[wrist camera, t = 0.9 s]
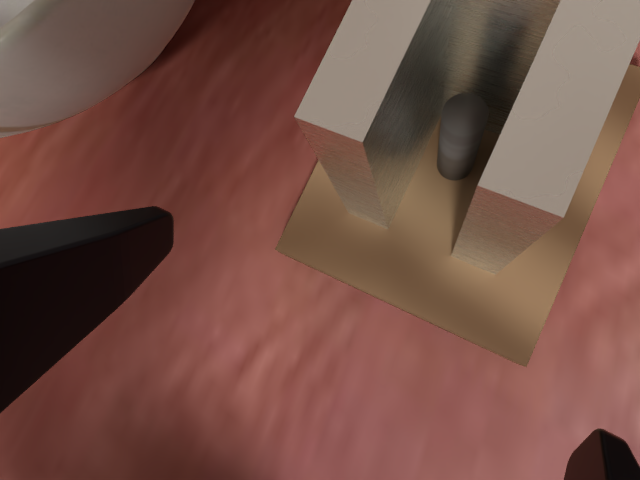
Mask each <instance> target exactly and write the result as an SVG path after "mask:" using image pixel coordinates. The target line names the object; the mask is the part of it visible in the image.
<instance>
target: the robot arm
mask: <svg viewBox="0 0 640 480" xmlns="http://www.w3.org/2000/svg"><path fill="white" fill-rule="evenodd" d="M173 242H174V220H173V216H172V214H171V213H170V212H168V211H166V210H164V209H162V208H160V207H157V206H152V207H145V208H139V209H132V210H125V211H119V212H112V213H105V214H98V215H92V216H85V217H78V218H72V219H65V220H58V221H51V222H45V223H38V224H31V225H25V226H18V227H11V228H4V229H0V413H1V412H2V411H3V410H4V409H5V408H7V407H8V406H9V405H10V404H11V403H12V402H13V401H14V400H16V399H17V398H18V397H19V396H20V395H21V394H22V393H23V392H24V391H26V390H27V389H28V388H29V387H30V386H31V385H32V384H33V383H35V382H36V381H37V380H38V379H39V378H40V377H41V376H42V375H43V374H45V373H46V372H47V371H48V370H49V369H50V368H51V367H52V366H54V365H55V364H56V363H57V362H58V361H59V360H60V359H61V358H62V357H64V356H65V355H66V354H67V353H68V352H69V351H70V350H71V349H72V348H74V347H75V346H76V345H77V344H78V343H79V342H80V341H81V340H83V339H84V338H85V337H86V336H87V335H88V334H89V333H90V332H91V331H93V330H94V329H95V328H96V327H97V326H98V325H99V324H100V323H102V322H103V321H104V320H105V319H106V318H107V317H108V316H109V315H110V314H112V313H113V312H114V311H115V310H116V309H117V308H118V307H119V306H120V305H121V304H122V303H124V302H125V301H126V300H127V299H128V298H129V296H130V295H131V294H132V293H133V292H134V291H135V290H136V289H137V288H138V287H139V286H140V285H141V284H142V282H143V281H144V280H145V279H146V278H147V277H148V276H149V275H150V274H151V273H152V271H153V270H154V269H155V268H156V267H157V266H158V265H159V264H160V263H161V261H162V260H163V259H164V258H165V257H166V256H167V255H168V254H169V252H170V251H171V249H172V247H173ZM564 480H640V466H639V464H638V463H637V461H636V459H635V457H634V455H633V453H632V451H631V450H630V448H629V446H628V444H627V443H626V442H625V441H624V440H623V439H622V438H620V437H618V436H616V435H614V434H612V433H610V432H608V431H606V430H604V429H596V430H594V431H593V432H592V433H591V434H590V435H589V436H588V437H587V438H586V439H585V440H584V441H583V442H582V443H581V444H580V446H579V447H578V448H577V449H576V450H575V451H574V452H573V453H572V455H571V456H570V458H569V461H568V464H567V468H566V472H565V477H564Z"/></svg>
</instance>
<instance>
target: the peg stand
mask: <svg viewBox="0 0 640 480" xmlns="http://www.w3.org/2000/svg"><path fill="white" fill-rule="evenodd" d="M639 98H640V67H638V66H634V65H631V64H629V66H628V68H627V71H626V73H625V75H624V78H623V80H622V82H621V85H620V87H619V89H618V92H617V94H616V96H615V99H614V101H613V103H612V106H611V108H610V111H609V113H608V115H607V118H606V120H605V122H604V125H603V127H602V129H601V132H600V134H599V136H598V139H597V141H596V143H595V146H594V148H593V150H592V153H591V155H590V157H589V160H588V162H587V164H586V167H585V169H584V171H583V174H582V176H581V178H580V181H579V183H578V185H577V188H576V190H575V193H574V195H573V197H572V200H571V202H570V204H569V207H568V209H567V211H566V214H565V216H564V218H563V219H562V220H560V221H559V222H558V223H557V224H556V225H554V226H553V227H552V228H551V229H550V230H548V231H547V232H546V233H545V234H544V235H542V236H541V237H540V238H539V239H538V240H536V241H535V242H534V243H533V244H532V245H531V246H529V247H528V248H527V249H526V250H525V251H523V252H522V253H521V254H520V255H519V256H517V257H516V258H515V259H514V260H513V261H511V262H510V263H509V264H508V265H507V266H505V267H504V268H503V269H502V270H501V271H499V272H498V273H497V274H496V275H495V274H492V273H490V272H487V271H485V270H483V269H480V268H478V267H476V266H473V265H471V264H469V263H466V262H464V261H461V260H459V259H457V258H454V257H452V256H451V254H452V252H453V249H454V246H455V244H456V241H457V238H458V236H459V233H460V230H461V228H462V225H463V222H464V220H465V217H466V214H467V212H468V209H469V206H470V204H471V201H472V198H473V196H474V193H475V190H476V188H477V185H478V183H479V181H480V178H481V176H482V174H483V172H484V170H485V167H486V165H487V163H488V161H489V158H490V156H491V154H492V152H493V150H494V147H495V145H496V143H497V141H498V138H499V136H500V135H499V134H496V133H493V132H491V131H488V130H485V126H486V123H487V120H488V116H489V111H488V107H487V104H486V103H485V101H484V100H483V99H482V98H481V97H479V96H477V95H475V94H472V93H461V94H457V95H455V96H453V97H451V98H450V99H449V100H448V101H447V102H446V103H445V105H444V106H443V109H442V115H441V117H440V119H439V121H438V123H437V126H436V128H435V130H434V132H433V134H432V136H431V138H430V141H429V143H428V145H427V147H426V149H425V151H424V154H423V156H422V158H421V160H420V162H419V164H418V166H417V169H416V171H415V173H414V175H413V177H412V179H411V181H410V184H409V186H408V188H407V190H406V192H405V194H404V197H403V199H402V201H401V203H400V205H399V207H398V209H397V212H396V214H395V216H394V218H393V220H392V222H391V224H390V227H389V229H386V228H383V227H381V226H378V225H376V224H374V223H371V222H369V221H367V220H364V219H362V218H359V217H357V216H355V215H352V214H350V213H349V212H348V211H347V209H346V207H345V205H344V204H343V202H342V200H341V198H340V197H339V195H338V193H337V191H336V190H335V188H334V186H333V184H332V183H331V181H330V179H329V177H328V176H327V174H326V172H325V170H324V169H323V167H322V165H321V163H320V162H319V160H318V162H317V164H316V167H315V169H314V171H313V173H312V175H311V177H310V179H309V181H308V183H307V185H306V187H305V189H304V191H303V193H302V195H301V197H300V199H299V201H298V203H297V205H296V207H295V209H294V212H293V214H292V216H291V218H290V220H289V222H288V224H287V226H286V228H285V230H284V232H283V234H282V236H281V238H280V240H279V242H278V244H277V246H276V248H275V250H277V251H278V252H280V253H282V254H284V255H286V256H288V257H290V258H292V259H294V260H297V261H299V262H301V263H303V264H305V265H307V266H309V267H312V268H314V269H316V270H318V271H320V272H322V273H324V274H326V275H329V276H331V277H333V278H335V279H337V280H339V281H341V282H344V283H346V284H348V285H350V286H352V287H354V288H356V289H359V290H361V291H363V292H365V293H367V294H369V295H371V296H374V297H376V298H378V299H380V300H382V301H384V302H386V303H389V304H391V305H393V306H395V307H397V308H399V309H401V310H403V311H406V312H408V313H410V314H412V315H414V316H416V317H418V318H421V319H423V320H425V321H427V322H429V323H431V324H433V325H436V326H438V327H440V328H442V329H444V330H446V331H448V332H451V333H453V334H455V335H457V336H459V337H461V338H463V339H465V340H468V341H470V342H472V343H474V344H476V345H478V346H480V347H483V348H485V349H487V350H489V351H491V352H493V353H495V354H498V355H500V356H502V357H504V358H506V359H508V360H510V361H513V362H515V363H517V364H519V365H522V366H525V367H527V364H528V362H529V360H530V357H531V355H532V352H533V350H534V348H535V345H536V343H537V341H538V338H539V336H540V333H541V331H542V329H543V326H544V324H545V322H546V319H547V317H548V314H549V312H550V310H551V307H552V305H553V303H554V300H555V298H556V295H557V293H558V291H559V288H560V286H561V284H562V281H563V279H564V276H565V274H566V272H567V269H568V267H569V265H570V262H571V260H572V257H573V255H574V253H575V250H576V248H577V246H578V243H579V241H580V238H581V236H582V234H583V231H584V229H585V227H586V224H587V222H588V219H589V217H590V215H591V212H592V210H593V208H594V205H595V203H596V200H597V198H598V196H599V193H600V191H601V189H602V186H603V184H604V181H605V179H606V177H607V174H608V172H609V170H610V167H611V165H612V162H613V160H614V158H615V155H616V153H617V151H618V148H619V146H620V143H621V141H622V139H623V136H624V134H625V132H626V129H627V127H628V124H629V122H630V120H631V117H632V115H633V113H634V110H635V108H636V105H637V103H638V101H639Z"/></svg>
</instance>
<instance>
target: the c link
mask: <svg viewBox="0 0 640 480" xmlns="http://www.w3.org/2000/svg"><path fill="white" fill-rule="evenodd" d="M639 40H640V0H352V2H351V4H350V6H349V8H348V10H347V12H346V14H345V16H344V18H343V20H342V22H341V24H340V26H339V28H338V30H337V32H336V34H335V36H334V38H333V40H332V42H331V44H330V46H329V48H328V50H327V52H326V54H325V56H324V58H323V60H322V62H321V64H320V66H319V68H318V70H317V72H316V74H315V76H314V78H313V80H312V82H311V84H310V86H309V88H308V90H307V92H306V94H305V96H304V98H303V100H302V102H301V104H300V106H299V108H298V110H297V112H296V114H295V116H294V118H295V119H296V121H297V123H298V125H299V126H300V128H301V130H302V132H303V133H304V135H305V137H306V139H307V141H308V142H309V144H310V146H311V148H312V149H313V151H314V153H315V155H316V156H317V158H318V160H319V162H320V163H321V165H322V167H323V169H324V170H325V172H326V174H327V176H328V177H329V179H330V181H331V183H332V184H333V186H334V188H335V190H336V191H337V193H338V195H339V197H340V198H341V200H342V202H343V204H344V205H345V207H346V209H347V211H348V212H349V213H350V214H352V215H355V216H357V217H359V218H362V219H364V220H367V221H369V222H371V223H374V224H376V225H378V226H381V227H383V228H386V229H389V227H390V224H391V222H392V220H393V218H394V216H395V214H396V212H397V209H398V207H399V205H400V203H401V201H402V199H403V197H404V194H405V192H406V190H407V188H408V186H409V184H410V181H411V179H412V177H413V175H414V173H415V171H416V169H417V166H418V164H419V162H420V160H421V158H422V156H423V154H424V151H425V149H426V147H427V145H428V143H429V141H430V138H431V136H432V134H433V132H434V130H435V128H436V126H437V123H438V121H439V119H440V117H441V115H442V109H443V106H444V105H445V103H446V102H447V101H448V100H449V99H450V98H451V97H453V96H455V95H457V94H461V93H472V94H475V95H477V96H479V97H481V98H482V99H483V100H484V101H485V103H486V104H487V107H488V111H489V116H488V120H487V123H486V126H485V130H488V131H491V132H493V133H496V134H499V135H500V136H499V138H498V141H497V143H496V145H495V147H494V150H493V152H492V154H491V156H490V158H489V161H488V163H487V165H486V167H485V170H484V172H483V174H482V176H481V178H480V181H479V183H478V185H477V188H476V190H475V193H474V196H473V198H472V201H471V204H470V206H469V209H468V212H467V214H466V217H465V220H464V222H463V225H462V228H461V230H460V233H459V236H458V238H457V241H456V244H455V246H454V249H453V252H452V254H451V256H452V257H454V258H457V259H459V260H461V261H464V262H466V263H469V264H471V265H473V266H476V267H478V268H480V269H483V270H485V271H487V272H490V273H492V274H495V275H496V274H497V273H498V272H499V271H501V270H502V269H503V268H504V267H505V266H507V265H508V264H509V263H510V262H511V261H513V260H514V259H515V258H516V257H517V256H519V255H520V254H521V253H522V252H523V251H525V250H526V249H527V248H528V247H529V246H531V245H532V244H533V243H534V242H535V241H536V240H538V239H539V238H540V237H541V236H542V235H544V234H545V233H546V232H547V231H548V230H550V229H551V228H552V227H553V226H554V225H556V224H557V223H558V222H559V221H560V220H562V219H563V218H564V216H565V214H566V211H567V209H568V207H569V204H570V202H571V200H572V197H573V195H574V193H575V190H576V188H577V185H578V183H579V181H580V178H581V176H582V174H583V171H584V169H585V167H586V164H587V162H588V160H589V157H590V155H591V153H592V150H593V148H594V146H595V143H596V141H597V139H598V136H599V134H600V132H601V129H602V127H603V125H604V122H605V120H606V118H607V115H608V113H609V111H610V108H611V106H612V103H613V101H614V99H615V96H616V94H617V92H618V89H619V87H620V85H621V82H622V80H623V78H624V75H625V73H626V71H627V68H628V66H629V64H630V61H631V59H632V57H633V54H634V52H635V50H636V47H637V45H638V43H639Z"/></svg>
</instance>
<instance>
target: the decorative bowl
mask: <svg viewBox="0 0 640 480" xmlns="http://www.w3.org/2000/svg"><path fill="white" fill-rule="evenodd" d="M194 1H195V0H0V138H3V137H7V136H12V135H16V134H21V133H25V132H29V131H32V130H36V129H39V128H42V127H45V126H48V125H51V124H54V123H57V122H60V121H62V120H65V119H67V118H70V117H72V116H74V115H76V114H79V113H81V112H83V111H85V110H87V109H89V108H91V107H93V106H94V105H96V104H98V103H100V102H101V101H103V100H105V99H106V98H108V97H109V96H111V95H112V94H114V93H115V92H117V91H118V90H120V89H121V88H122V87H124V86H125V85H126V84H128V83H129V82H130V81H132V80H133V79H135V78H136V77H137V76H139V75H140V74H141V73H142V72H143V71H144V70H146V69H147V68H148V67H149V66H150V65H151V64H152V63H153V62H154V61H155V59H156V58H157V57H158V56H159V55H160V53H161V52H162V51H163V49H164V48H165V46H166V45H167V44H168V43H169V41H170V40H171V39H172V38H173V36H174V35H175V33H176V32H177V30H178V29H179V27H180V26H181V24H182V23H183V21H184V19H185V18H186V16H187V14H188V13H189V11H190V9H191V7H192V5H193V3H194Z"/></svg>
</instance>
